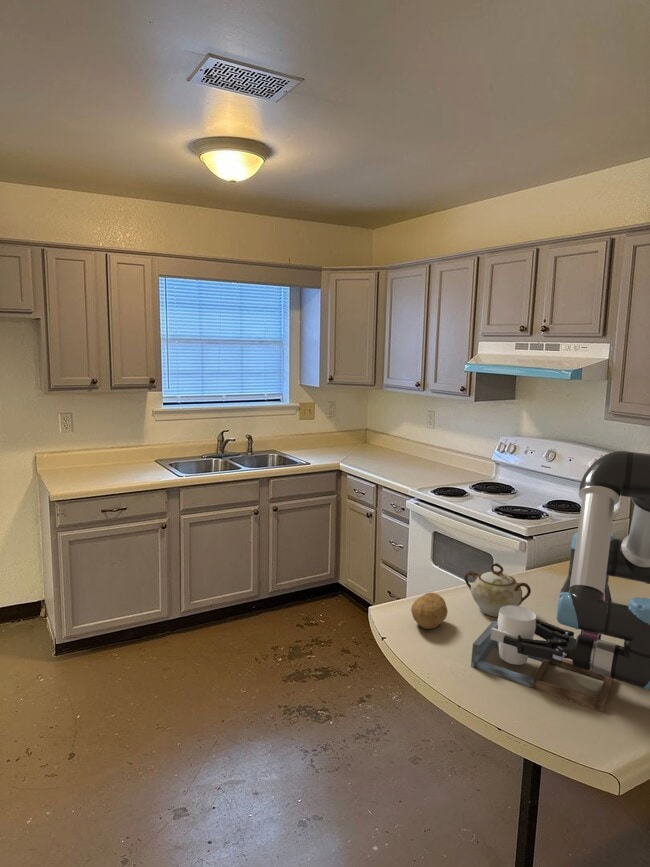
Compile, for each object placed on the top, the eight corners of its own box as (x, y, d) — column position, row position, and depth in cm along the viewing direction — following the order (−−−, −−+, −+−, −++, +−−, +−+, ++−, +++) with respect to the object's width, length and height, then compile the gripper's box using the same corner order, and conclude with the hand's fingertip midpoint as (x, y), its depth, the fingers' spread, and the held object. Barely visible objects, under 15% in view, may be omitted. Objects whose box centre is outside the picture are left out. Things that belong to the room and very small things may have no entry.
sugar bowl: (454, 611, 177) (458, 563, 175) (469, 594, 190) (473, 549, 188) (521, 629, 167) (527, 579, 165) (533, 611, 180) (538, 564, 178)
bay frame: (613, 680, 143) (616, 656, 142) (602, 711, 130) (605, 686, 129) (491, 641, 159) (493, 620, 158) (470, 666, 146) (472, 643, 145)
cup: (534, 670, 143) (539, 623, 141) (495, 664, 145) (500, 618, 143) (529, 652, 152) (534, 607, 150) (493, 646, 153) (497, 603, 152)
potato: (403, 631, 163) (405, 603, 162) (418, 612, 175) (420, 586, 174) (438, 640, 159) (440, 612, 157) (450, 619, 171) (453, 593, 170)
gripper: (582, 691, 129) (482, 657, 141) (599, 651, 147) (508, 624, 159) (586, 659, 128) (484, 627, 140) (602, 623, 146) (511, 598, 158)
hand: (497, 626), depth 150 cm, fingers closed on cup, 9 cm apart
